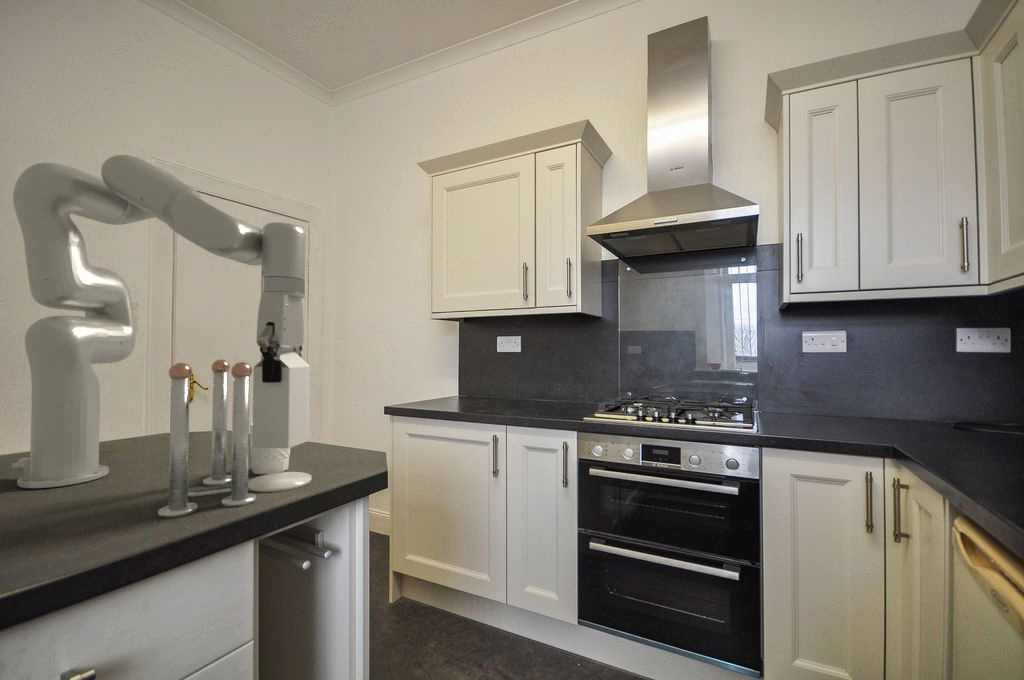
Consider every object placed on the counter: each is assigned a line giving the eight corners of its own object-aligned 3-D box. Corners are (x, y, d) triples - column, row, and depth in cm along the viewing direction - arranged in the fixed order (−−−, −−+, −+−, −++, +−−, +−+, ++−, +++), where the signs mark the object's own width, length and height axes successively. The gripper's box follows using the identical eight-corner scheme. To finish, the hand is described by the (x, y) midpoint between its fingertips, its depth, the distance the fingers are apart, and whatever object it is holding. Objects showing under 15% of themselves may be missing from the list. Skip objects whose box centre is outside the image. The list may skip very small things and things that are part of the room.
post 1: (149, 518, 69) (152, 363, 69) (172, 506, 74) (175, 362, 74) (183, 517, 69) (186, 363, 70) (204, 506, 74) (206, 362, 75)
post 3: (215, 507, 74) (217, 362, 74) (232, 496, 79) (234, 361, 79) (246, 506, 74) (249, 362, 74) (261, 496, 79) (264, 361, 80)
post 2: (197, 485, 85) (199, 359, 85) (213, 477, 90) (215, 359, 90) (224, 485, 85) (226, 360, 86) (239, 477, 90) (241, 359, 90)
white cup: (262, 477, 90) (263, 427, 91) (241, 471, 95) (242, 423, 95) (299, 469, 97) (300, 422, 97) (278, 463, 101) (278, 418, 101)
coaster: (234, 492, 81) (234, 488, 81) (264, 474, 92) (264, 471, 92) (297, 492, 82) (297, 488, 82) (320, 474, 93) (320, 471, 93)
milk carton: (309, 441, 90) (310, 345, 91) (288, 449, 83) (289, 345, 84) (275, 440, 91) (276, 345, 91) (251, 448, 84) (253, 345, 84)
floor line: (168, 499, 78) (168, 497, 78) (173, 494, 80) (173, 492, 80) (244, 491, 82) (244, 489, 82) (246, 487, 84) (246, 485, 84)
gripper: (283, 294, 96) (282, 377, 96) (238, 282, 79) (237, 384, 79) (320, 294, 97) (319, 377, 96) (282, 283, 79) (281, 384, 79)
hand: (282, 380), depth 87 cm, fingers closed on milk carton, 7 cm apart
